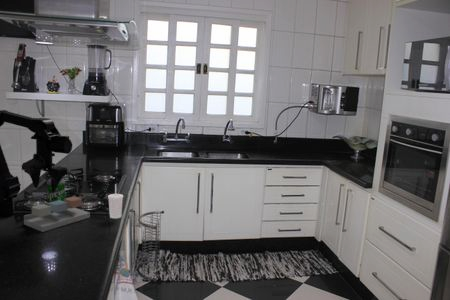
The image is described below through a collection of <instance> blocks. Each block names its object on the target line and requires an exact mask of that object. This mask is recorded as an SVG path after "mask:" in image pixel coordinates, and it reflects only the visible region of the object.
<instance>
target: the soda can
mask: <svg viewBox="0 0 450 300" xmlns="http://www.w3.org/2000/svg"><path fill="white" fill-rule="evenodd" d="M66 189H67V188H66V179H64V178H63V177H62V179H61V181H60V182H59V184H58V186H57V188H56V190H55V192H52V189H51V179H50V178H49V179H48V180H47V181H46V197H47V201H46V202H48V203H50V202H54V201H58V200H61V201H64V199H66V198H67V196H66Z"/></svg>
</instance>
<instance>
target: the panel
mask: <svg viewBox="0 0 450 300" xmlns="http://www.w3.org/2000/svg"><path fill="white" fill-rule="evenodd" d="M89 218H91V212H89V211H86V210H83V209H80V208H78V207H75V208H69V207H67V210H64V211H61V212H57V213H55V212H53V211H51V214H50V215H46V216H43V217H37V216H34V215H32V213H29V214H24V215H23V225H26V226H27V227H29V228H32V229H35V230H37V231H39V232H40V233H41V232H42V233H43V232H47V231H51V230H53V229H56V228H59V227H62V226H63V227H64V226H66V225H70V224H74V223H76V222H79V221H83V220H86V219H89Z"/></svg>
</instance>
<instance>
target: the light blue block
mask: <svg viewBox="0 0 450 300" xmlns="http://www.w3.org/2000/svg"><path fill="white" fill-rule="evenodd" d="M48 206H50V207H51V211H53V212H55V213H57V212H61V211H64V210H67V202H64V201H61V200H58V201H54V202H50V203H49V205H48Z"/></svg>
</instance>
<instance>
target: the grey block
mask: <svg viewBox="0 0 450 300" xmlns="http://www.w3.org/2000/svg"><path fill="white" fill-rule="evenodd" d="M31 214H32V215H34V216H37V217H43V216H46V215H50V214H51V207H50V206H49V205H48V204H44V203H41V204H38V205H35V206H31Z"/></svg>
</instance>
